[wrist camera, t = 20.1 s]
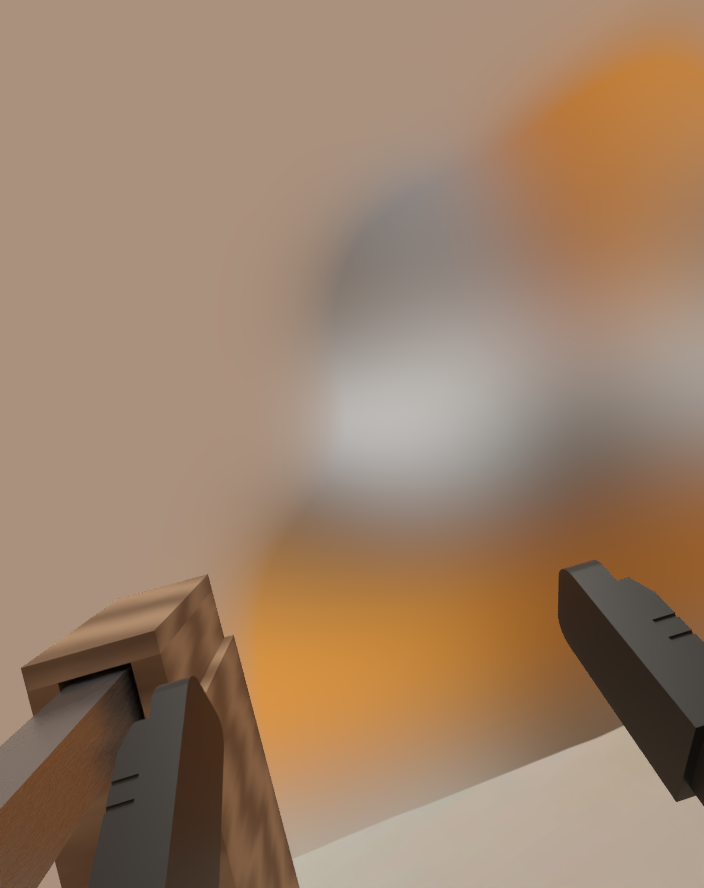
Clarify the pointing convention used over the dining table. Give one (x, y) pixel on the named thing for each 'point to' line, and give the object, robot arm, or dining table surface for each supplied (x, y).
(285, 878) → the tower
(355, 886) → the dining table surface
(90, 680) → the shaft
